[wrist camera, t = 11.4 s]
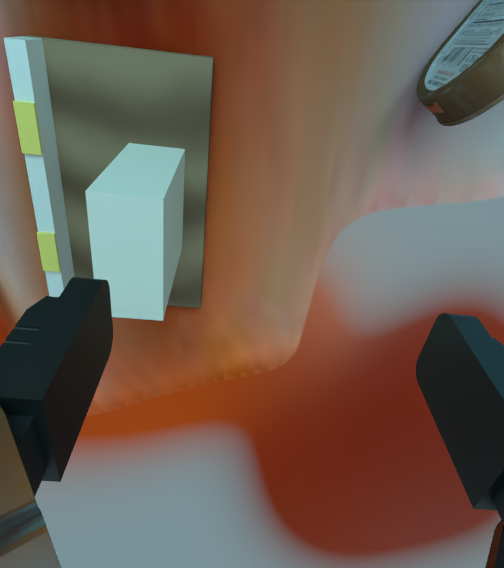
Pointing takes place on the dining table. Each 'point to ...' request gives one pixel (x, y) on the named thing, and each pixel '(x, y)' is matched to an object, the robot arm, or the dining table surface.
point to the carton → (138, 228)
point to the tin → (467, 67)
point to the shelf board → (131, 134)
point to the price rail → (41, 157)
